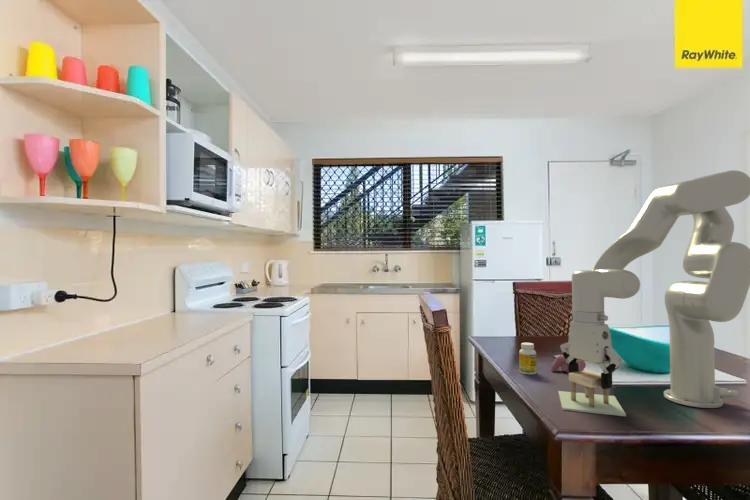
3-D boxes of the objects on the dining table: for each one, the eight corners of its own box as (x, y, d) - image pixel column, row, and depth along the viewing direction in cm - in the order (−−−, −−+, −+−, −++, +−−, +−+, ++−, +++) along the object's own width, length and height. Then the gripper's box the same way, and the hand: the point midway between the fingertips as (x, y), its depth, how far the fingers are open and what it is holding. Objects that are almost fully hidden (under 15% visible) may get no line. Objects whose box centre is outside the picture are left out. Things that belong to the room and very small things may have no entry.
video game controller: (584, 380, 136) (589, 359, 138) (577, 376, 133) (582, 355, 135) (555, 374, 144) (560, 354, 146) (548, 369, 142) (554, 349, 143)
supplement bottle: (524, 369, 144) (523, 341, 144) (539, 372, 140) (539, 343, 140) (516, 372, 140) (516, 343, 140) (531, 375, 136) (531, 346, 136)
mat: (614, 397, 115) (614, 396, 115) (626, 416, 102) (625, 414, 102) (558, 392, 120) (558, 390, 120) (562, 409, 106) (562, 407, 106)
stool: (587, 395, 115) (586, 369, 115) (610, 403, 109) (610, 376, 109) (568, 399, 112) (568, 373, 112) (592, 408, 106) (591, 380, 106)
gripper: (629, 320, 105) (631, 390, 104) (570, 312, 120) (571, 373, 120) (609, 323, 101) (610, 394, 101) (551, 314, 117) (552, 376, 117)
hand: (589, 382), depth 111 cm, fingers open, 9 cm apart
